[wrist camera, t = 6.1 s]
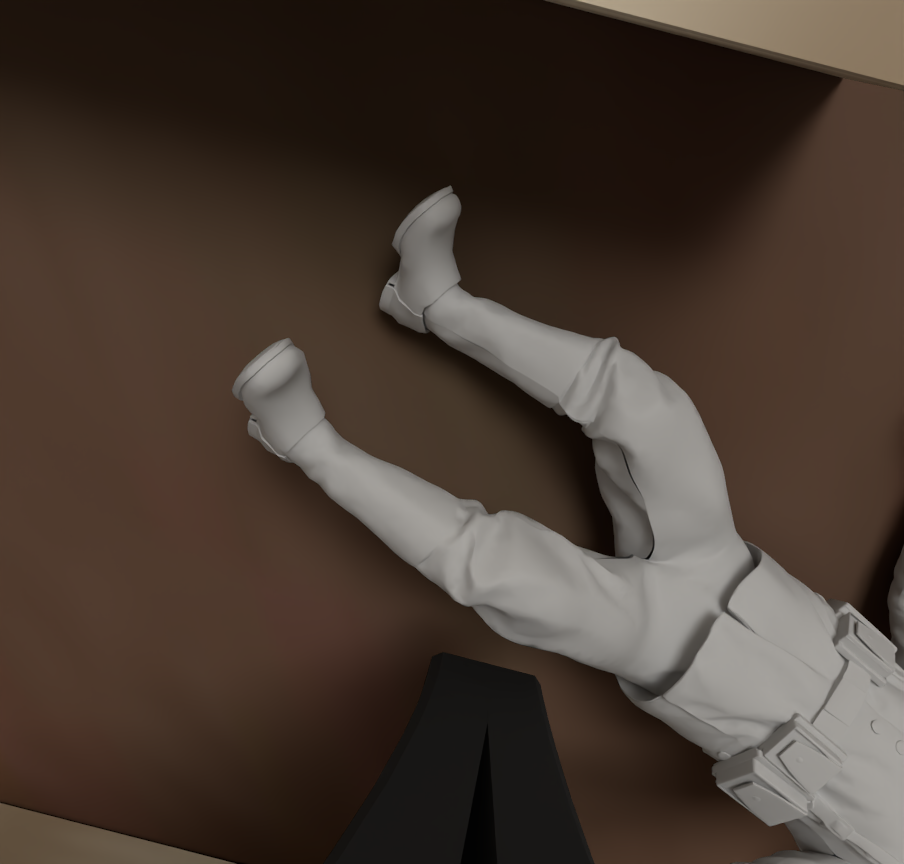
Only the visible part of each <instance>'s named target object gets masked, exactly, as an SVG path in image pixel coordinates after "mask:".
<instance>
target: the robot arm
mask: <svg viewBox="0 0 904 864" xmlns="http://www.w3.org/2000/svg"><path fill="white" fill-rule="evenodd" d="M323 864H594V861H593V859H592V856H591V853H590V850H589V848H588V845H587V842H586V839H585V836H584V833H583V830H582V828H581V825H580V822H579V819H578V816H577V813H576V810H575V808H574V805H573V802H572V799H571V796H570V793H569V789H568V786H567V783H566V780H565V777H564V774H563V770H562V767H561V764H560V760H559V757H558V753H557V750H556V747H555V743H554V739H553V736H552V732H551V728H550V724H549V721H548V717H547V712H546V708H545V704H544V700H543V695H542V690H541V685H540V683H539V682H538V680H537V679H536V677H535V676H533V675H530V674H526V673H522V672H518V671H514V670H510V669H506V668H502V667H499V666H495V665H491V664H487V663H483V662H479V661H475V660H471V659H467V658H464V657H460V656H456V655H452V654H448V653H444V652H442V653H440V654H438V655H435V656H433V657H432V659H431V663H430V666H429V670H428V673H427V676H426V680H425V683H424V687H423V690H422V693H421V696H420V699H419V701H418V704H417V706H416V708H415V710H414V713H413V715H412V717H411V719H410V721H409V723H408V725H407V727H406V729H405V731H404V733H403V735H402V737H401V739H400V741H399V743H398V744H397V746H396V748H395V750H394V752H393V753H392V755H391V757H390V759H389V760H388V762H387V764H386V766H385V768H384V769H383V771H382V773H381V775H380V777H379V778H378V780H377V782H376V784H375V785H374V787H373V789H372V790H371V792H370V793H369V795H368V797H367V798H366V800H365V801H364V803H363V804H362V806H361V807H360V809H359V810H358V812H357V814H356V815H355V817H354V818H353V820H352V821H351V823H350V824H349V826H348V827H347V829H346V830H345V832H344V833H343V835H342V837H341V838H340V840H339V841H338V843H337V844H336V846H335V847H334V849H333V850H332V852H331V853H330V855H329V856H328V857H327V859H326V860H325V862H324V863H323Z"/></svg>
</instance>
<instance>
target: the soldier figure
mask: <svg viewBox="0 0 904 864" xmlns="http://www.w3.org/2000/svg"><path fill="white" fill-rule="evenodd" d="M452 192H453V189H452V187H451V185H450V186H449V187H447V188H446V187H445V188H443V189H441V190H439V191H437V192H435V193H433V194H431V195H430V196H428V197H427V198H425V199H424V200H423V201H421V202H420V203H419V204H418V205H416V206H415V208H414V209H413V210H412V211H411V212H410V213H409V214H408V215H407V217H406V218H405V219H404V221H403V222H402V223H401V225H400V226H399V228H398V229H397V231H396V233H395V237H394V240H393V243H392V245H393V247H394V248H395V249H396V251H397V252H398V253H399V255H400V256H401V261H400V267H399V271H398V272H396V273H395V274H394V275H393V276H392V277H391V278H390V279H389V281H388V282H387V284H386V286H385V288H384V290H383V292H382V295H381V298H380V303H379V307H380V309H381V310H383V311H384V312H386V313H388V314H389V315H392V316H393V317H394V318H395V319H396V321H397V322H398V323H399V324H402V325H404V326H407V327H409V328H411V329H413V330H415V331H417V332H420V333H428V332H429V331H432V332H433V333H434V334H435V335H437V336H438V337H439V338H440V339H441V340H443V341H444V342H445V343H446V344H448V345H449V346H451V347H453V348H454V349H456V350H458V351H460V352H462V353H464V354H466V355H468V356H470V357H471V358H473V359H475V360H477V361H478V362H480V363H481V364H483V365H485V366H486V367H488V368H490V369H491V370H493V371H495V372H496V373H498V374H499V375H501V376H503V377H504V378H506V379H508V380H509V381H511V382H513V383H514V384H516V385H517V386H518V387H519V388H521V389H522V390H523V391H524V392H526V393H527V394H529V395H530V396H531V397H533V398H535V399H536V400H538V401H539V402H541V403H542V404H543V405H545V406H547V407H548V408H553V409H554V411H555V412H556V413H557V414H558V415H565V414H567V415H568V416H569V417H570V418H571V419H572V420H574V421H575V422H579V423H580V424H581V425H582V426H583V427H582V431H583V432H584V434H585V435H586V436H588V437H589V438H592V444H593V451H594V455H595V458H596V461H595V471H596V476H597V481H598V485H599V489H600V492H601V496H602V498H603V500H604V502H605V504H606V506H607V508H608V510H609V511H610V513H611V515H612V519H613V528H614V544H615V557H612V556H606V555H602V554H600V553H597V552H594V551H591V550H588V549H585V548H582V547H578V546H576V545H574V544H572V543H571V542H569V541H568V540H567V539H566V538H564V537H563V536H561V535H560V534H558V533H556V532H554V531H552V530H550V529H549V528H547V527H545V526H544V525H542V524H540V523H539V522H537V521H535V520H533V519H531V518H529V517H527V516H525V515H523V514H521V513H518V512H514V511H506V510H501V511H500V512H498V513H497V514H488V513H487V511H486V510H485V508H484V506H483V505H482V504H481V503H480V502H479V501H477V500H465V499H459V498H456V497H454V496H453V495H452V494H450V493H448V492H447V491H445V490H443V489H441V488H439V487H437V486H435V485H433V484H431V483H429V482H427V481H425V480H423V479H421V478H420V477H418V476H416V475H414V474H412V473H410V472H409V471H407V470H405V469H403V468H401V467H398V466H396V465H393V464H390V463H388V462H385V461H382V460H380V459H377V458H375V457H373V456H371V455H369V454H367V453H366V452H364V451H362V450H361V449H359V448H358V447H356V446H354V445H353V444H351V443H349V442H348V441H346V440H345V439H343V438H342V437H341V436H340V435H339V434H338V433H337V432H336V431H335V429H334V428H333V426H332V425H331V424H330V423H329V422H328V421H327V420H326V419H325V418H324V416H325V411H324V409H323V407H322V405H321V403H320V401H319V399H318V398H317V396H316V394H315V393H314V391H313V389H312V385H311V375H310V372H309V369H308V365H307V362H306V359H305V355H304V352H303V351H301V350H300V349H298V348H296V347H295V346H294V344H293V343H292V341H291V340H290V339H289V338H286V339H285V340H284V339H283V340H280V341H278V342H276V343H273V344H272V345H270V346H269V347H268V348H266V349H265V350H264V351H262V352H261V353H260V354H259V355H257V356H256V357H255V358H254V359H253V360H252V361H251V362H250V363H249V364H247V365H246V367H245V368H244V369H243V371H242V372H241V374H240V375H239V376H238V378H237V379H236V381H235V383H234V386H233V389H232V392H233V394H234V397H236V398H238V399H239V400H243V401H244V404H245V406H246V407H247V409H248V410H249V411H250V412H251V413H252V415H251V416H250V420H249V422H248V433H249V435H250V436H252V437H254V438H255V439H257V440H258V441H260V442H261V443H262V445H263V446H264V447H265V448H266V450H267V451H269V452H271V453H273V454H276V455H277V456H278V457H279V458H280V459H281V460H284V461H286V462H289V463H295V464H296V465H298V466H299V467H301V469H302V470H303V471H304V473H305V474H306V475H307V476H308V478H309V479H311V480H313V481H315V482H316V483H318V484H319V485H320V486H321V487H322V489H323V490H324V491H325V493H326V494H327V495H328V496H329V497H330V498H331V499H332V500H334V501H335V502H336V503H337V504H339V505H340V506H341V507H343V508H344V509H345V510H347V511H348V512H350V513H351V514H352V515H354V516H355V517H356V518H358V519H359V520H360V521H361V522H362V523H363V524H364V525H365V526H366V527H368V528H369V529H370V530H371V531H372V532H373V533H374V534H375V535H376V536H378V537H379V538H380V539H381V540H382V541H383V542H384V543H385V544H386V545H387V546H388V547H389V548H390V549H391V550H392V551H393V552H394V553H396V554H397V555H398V556H399V557H400V558H402V559H403V560H404V561H405V562H407V563H408V564H410V565H412V566H414V567H415V568H416V569H417V570H418V571H420V572H421V573H422V574H423V575H424V576H425V577H426V578H427V579H429V580H430V581H432V582H434V583H435V584H437V585H438V586H439V587H440V588H441V589H443V590H444V591H445V592H446V593H447V594H449V595H450V596H451V597H452V598H453V600H455V601H456V602H458V603H460V604H462V605H464V606H468V607H469V606H472V607H473V609H474V610H475V611H476V612H477V613H478V614H479V615H480V616H481V618H482V619H483V620H484V621H485V622H486V624H487V625H488V626H489V627H490V628H491V629H492V630H494V631H495V632H496V633H498V634H499V635H500V636H502V637H504V638H506V639H508V640H510V641H512V642H515V643H517V644H520V645H524V646H529V647H533V648H537V649H541V650H546V651H551V652H556V653H559V654H561V655H564V656H567V657H569V658H571V659H573V660H575V661H577V662H580V663H583V664H586V665H589V666H591V667H594V668H597V669H600V670H603V671H607V672H611V673H613V674H615V676H616V678H617V680H618V682H619V685H620V687H621V689H622V691H623V692H624V694H625V695H626V696H627V697H628V698H629V699H630V701H631V702H632V703H634V704H635V705H636V706H637V707H639V708H640V709H642V710H643V711H645V712H647V713H649V714H651V715H652V716H654V717H656V718H658V719H660V720H662V721H663V722H664V723H666V724H667V725H668V726H669V727H671V728H672V729H673V730H675V731H676V732H677V733H678V734H680V735H681V736H683V737H684V738H686V739H687V740H689V741H691V742H693V743H694V744H696V745H698V746H700V747H702V750H703V752H704V753H706V754H708V755H709V756H711V757H712V758H714V759H715V760H717V761H718V762H717V763H715V764H713V765H714V766H713V767H712V775H713V776H715V777H716V781H715V782H716V784H717V786H718V787H719V788H720V789H721V790H723V791H724V792H725V793H727V794H728V795H729V796H730V797H732V798H733V799H734V800H736V801H737V802H738V803H740V804H741V805H742V806H743V807H745V808H746V809H747V810H749V811H750V812H751V813H753V814H754V815H755V816H757V817H758V818H759V819H761V820H762V821H763V822H765V823H766V824H767V825H768V826H773V825H777V824H780V823H785V825H786V826H787V827H788V829H789V831H790V832H791V834H792V835H793V838H794V840H795V842H796V844H797V846H798V848H799V849H800V851H801V852H800V851H795V850H784V851H779V852H777V853H774V854H772V855H771V856H768V857H762V858H759V859H756V860H754V861H752V862H735V863H731V864H904V545H903V548H902V551H901V555H900V557H899V559H898V561H897V563H896V566H895V568H894V579H893V581H892V583H891V586H890V590H889V594H888V599H887V604H888V608H889V611H890V613H889V622H890V632H891V635H892V638H891V642H890V641H889V640H888V639H887V638H886V637H885V636H884V635H883V634H882V633H881V632H880V631H879V630H878V629H877V628H875V627H874V626H873V625H872V624H871V623H870V622H869V621H868V620H867V619H866V618H864V617H863V616H862V615H861V614H860V613H859V612H858V611H856V610H855V609H854V608H853V607H852V606H851V605H850V604H849V603H847V602H843V601H839V600H835V599H829V600H828V601H825V599H824V598H823V597H822V596H821V595H819V594H818V593H816V592H815V593H814V592H813V591H811V590H810V589H809V588H808V587H807V586H805V585H804V584H803V583H801V582H800V581H799V580H797V579H796V578H794V577H793V576H791V575H790V574H788V573H787V572H786V571H785V570H784V569H783V568H782V567H781V566H780V565H779V564H778V563H777V562H776V561H775V560H773V559H772V558H771V557H770V556H769V555H768V554H766V553H765V552H764V551H762V550H761V549H760V548H758V547H757V546H755V545H753V544H751V543H749V542H746V541H743V540H742V539H741V537H740V536H739V535H738V534H737V532H736V529H735V527H734V522H733V518H732V513H731V508H730V503H729V499H728V494H727V489H726V483H725V477H724V472H723V468H722V465H721V462H720V460H719V458H718V455H717V453H716V451H715V449H714V447H713V445H712V442H711V440H710V437H709V435H708V433H707V431H706V429H705V426H704V424H703V422H702V419H701V417H700V415H699V413H698V411H697V409H696V407H695V406H694V404H693V402H692V401H691V399H690V398H689V396H688V395H687V394H686V393H685V391H684V390H682V389H681V388H680V387H679V386H678V385H677V384H676V383H675V382H674V381H673V380H671V379H670V378H669V377H668V376H666V375H664V374H662V373H660V372H657V371H653V370H652V369H651V368H650V367H649V366H648V364H646V363H645V362H644V361H643V360H642V359H641V358H639V357H638V356H637V355H636V354H634V353H633V352H630V351H628V350H625V349H622V348H621V347H620V344H619V341H618V339H617V338H616V337H610V338H607V339H602V338H591V337H587V336H584V335H580V334H577V333H574V332H570V331H566V330H563V329H559V328H556V327H552V326H549V325H546V324H543V323H540V322H538V321H535V320H533V319H530V318H527V317H525V316H522V315H520V314H518V313H516V312H514V311H512V310H510V309H508V308H506V307H504V306H503V305H501V304H498V303H496V302H494V301H492V300H489V299H486V298H479V297H473V296H471V295H470V294H469V293H467V292H466V291H464V290H463V289H461V288H460V287H459V286H458V284H457V283H458V282H459V281H460V280H461V277H460V274H459V271H458V269H457V265H456V262H455V258H454V255H453V251H452V249H453V241H454V233H455V227H456V224H457V220H458V217H459V216H460V213H461V204H460V200H459V199H458V197H457V195H455V194H453V193H452Z"/></svg>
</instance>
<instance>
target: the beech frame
mask: <svg viewBox="0 0 904 864" xmlns="http://www.w3.org/2000/svg"><path fill="white" fill-rule="evenodd" d="M545 1H549V2H552V3H556V4H560V5H564V6H568V7H572V8H576V9H579V10H583V11H587V12H591V13H595V14H599V15H602V16H606V17H610V18H614V19H618V20H622V21H626V22H629V23H633V24H637V25H641V26H645V27H649V28H652V29H656V30H660V31H664V32H668V33H672V34H676V35H679V36H683V37H687V38H691V39H695V40H699V41H703V42H706V43H710V44H714V45H718V46H722V47H726V48H729V49H733V50H737V51H741V52H745V53H749V54H753V55H756V56H760V57H764V58H768V59H772V60H776V61H779V62H783V63H787V64H791V65H795V66H799V67H803V68H806V69H810V70H814V71H818V72H822V73H826V74H830V75H833V76H837V77H841V78H845V79H850V80H854V81H859V82H864V83H869V84H874V85H879V86H883V87H888V88H893V89H898V90H903V91H904V0H545ZM0 864H236V863H232V862H228V861H224V860H220V859H216V858H212V857H209V856H205V855H201V854H197V853H193V852H189V851H185V850H181V849H177V848H174V847H170V846H166V845H162V844H158V843H154V842H150V841H146V840H142V839H138V838H135V837H131V836H127V835H123V834H119V833H115V832H111V831H107V830H103V829H100V828H96V827H92V826H88V825H84V824H80V823H76V822H72V821H68V820H65V819H61V818H57V817H53V816H49V815H45V814H41V813H37V812H33V811H30V810H26V809H22V808H18V807H14V806H10V805H6V804H2V803H0Z"/></svg>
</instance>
